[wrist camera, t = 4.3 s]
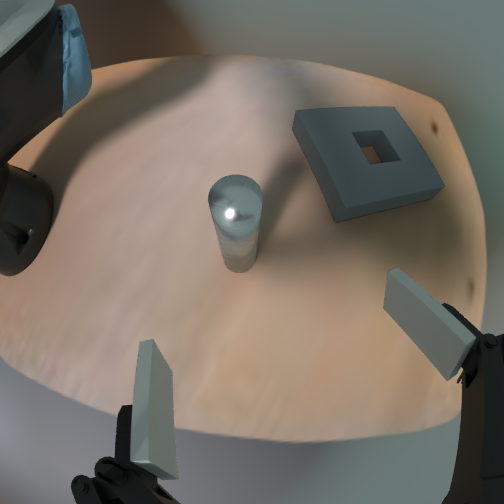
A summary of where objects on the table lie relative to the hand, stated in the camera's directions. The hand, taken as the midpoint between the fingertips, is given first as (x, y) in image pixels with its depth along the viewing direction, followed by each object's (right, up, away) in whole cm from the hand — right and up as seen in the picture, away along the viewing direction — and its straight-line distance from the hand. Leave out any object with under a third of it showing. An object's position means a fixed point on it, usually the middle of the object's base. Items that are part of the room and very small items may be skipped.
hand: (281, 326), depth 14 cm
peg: (-3, +3, +13) cm, 14 cm away
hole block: (+13, +15, +18) cm, 27 cm away
